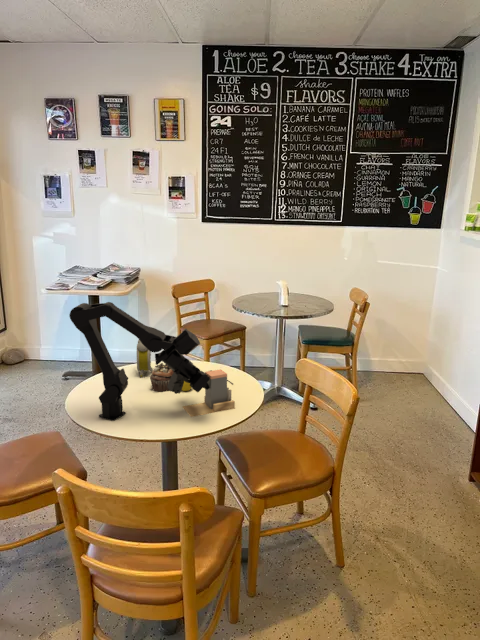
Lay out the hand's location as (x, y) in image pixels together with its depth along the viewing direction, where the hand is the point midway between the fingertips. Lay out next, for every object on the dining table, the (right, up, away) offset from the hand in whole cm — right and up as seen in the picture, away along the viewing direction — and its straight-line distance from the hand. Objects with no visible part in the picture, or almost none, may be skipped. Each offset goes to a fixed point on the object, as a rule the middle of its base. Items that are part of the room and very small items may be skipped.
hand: (208, 388), depth 161 cm
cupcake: (-19, -3, +21) cm, 28 cm away
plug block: (+3, -6, +4) cm, 8 cm away
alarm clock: (-29, +1, +37) cm, 46 cm away
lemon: (-10, -4, +17) cm, 20 cm away
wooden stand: (0, -8, +2) cm, 8 cm away
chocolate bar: (0, -2, +31) cm, 31 cm away
